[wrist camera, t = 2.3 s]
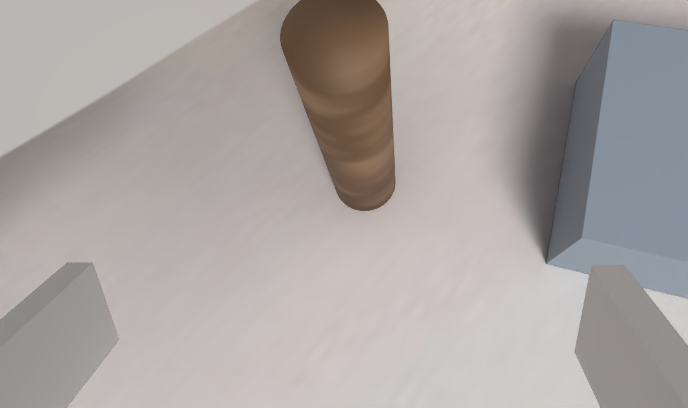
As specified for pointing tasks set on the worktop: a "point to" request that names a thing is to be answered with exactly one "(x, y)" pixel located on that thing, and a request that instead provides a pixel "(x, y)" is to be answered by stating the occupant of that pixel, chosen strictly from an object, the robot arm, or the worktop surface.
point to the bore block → (628, 160)
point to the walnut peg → (346, 92)
